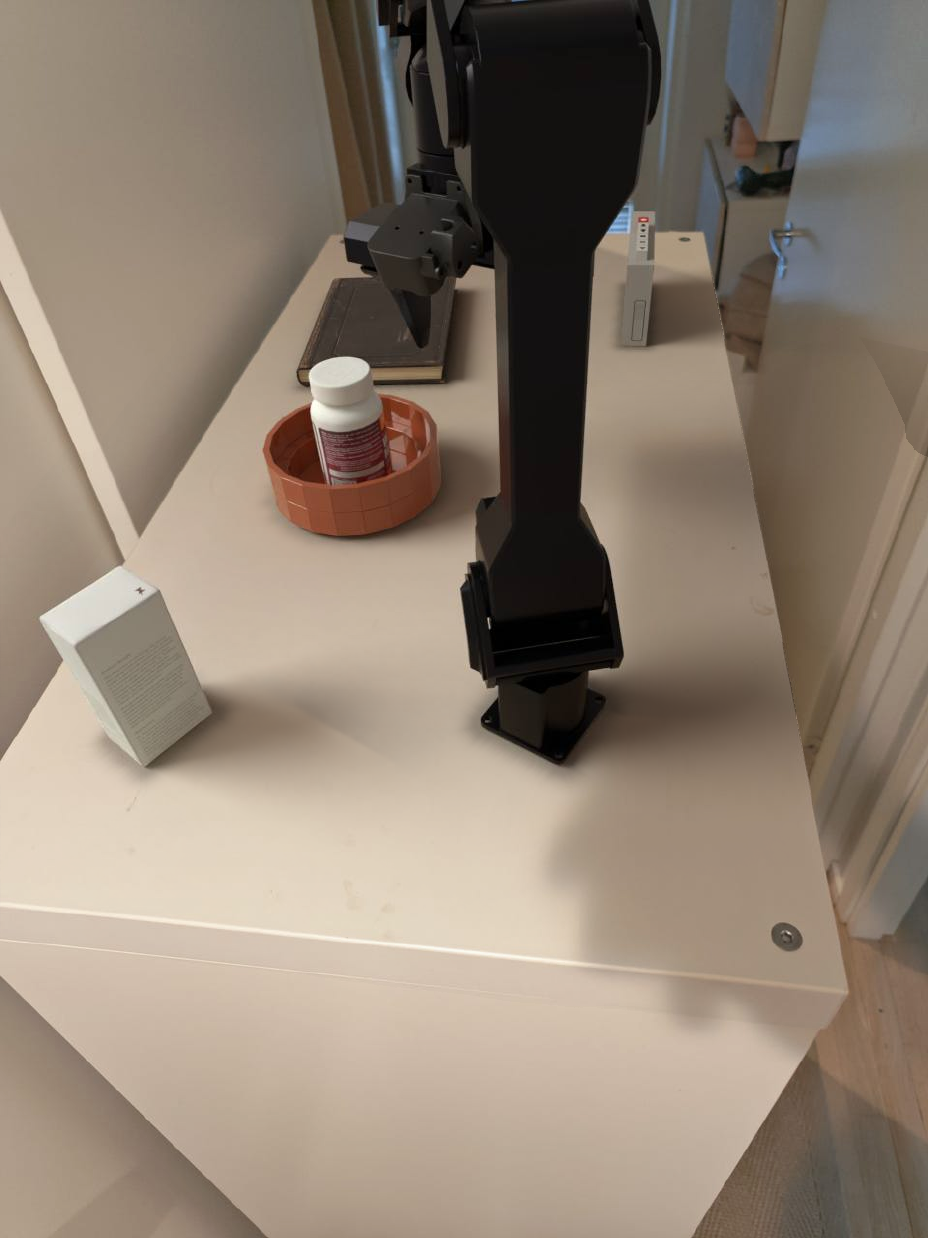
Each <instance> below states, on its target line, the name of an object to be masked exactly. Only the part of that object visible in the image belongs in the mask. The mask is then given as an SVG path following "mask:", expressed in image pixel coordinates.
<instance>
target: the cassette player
mask: <svg viewBox="0 0 928 1238" xmlns="http://www.w3.org/2000/svg"><path fill="white" fill-rule="evenodd" d="M630 217H631V218H630V230H629V241H628V253H627V254H628V256H627V265H626V277H625V291H624V292H625V293H624V303H623V316H622V317H623V318H622V331H621V346H623V347H628V346H629V347H647V341H648V340H647V339H648V329H649V320H650V311H651V301H652V292H653V291H652V290H653V281H654V273H655V251H656V250H655V248H656V246H655V245H656V211H653V210H652V211H651V210H649V211H647V210H645V211H642V210H639V211H638V210H635V211H634V210H633V211H631V216H630Z"/></svg>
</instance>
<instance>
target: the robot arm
mask: <svg viewBox="0 0 928 1238" xmlns="http://www.w3.org/2000/svg"><path fill="white" fill-rule="evenodd" d="M375 10H376V17H377V23H378V27H385V33H386V34H387V37H388V39H392V38H393V39H394V38H401V40H400V42H399V44H398V48H397V53H396V58H395V61H396V62H395V63H396V70H397V74H398V79H399V81H400V83H401V85H402V87H403V89H404V91H405V94H406V96H407V98H408V100H409V102H410V104H411V107H412V109H413V110H412V111H413V120H414V121H413V122H414V133H415V134H414V135H415V145H416V158H417V162H415V163H413V164H412V165H409V166H408V167H406V176H405V178H404V183H405V194H404V201H403V202H402V203H401V204H398V203H392V202H385V201H384V202H382V203H380V204H378V205H375V206H374V207H373V208H371V209H368V210H367V211H365V212H363V213H361V214H359V215H357V216H355V217H354V218H351V219H349V221H348V223H347V225H346V228H345V230H344V233H343V236H342V238H343V244H344V252H345V258H346V261H347V263H352V264H356V265H360V266H359V269H360V271H361V272H362V273H363V274H364V275H367V276H369V277H374V278H375V279H377V280H378V281H380V282H381V283H382V284H383V286H384V287H386V288H388V289H389V291H390V293H391V295H392V296H393V298H394V300H395V302H396V303H397V305H398V307H399V309H400V311H401V314H402V316H403V318H404V320H405V322H406V324H407V326H408V328H409V330H410V333H411V335H412V337H413V339H414V341H415V343H416V345H417V347H418V348H420V349H423V348H424V347H426V346H427V345H428V344H429V337H430V328H431V295H433V294H435V293H436V292H438V291H439V290H440V289H441V287H442V286H443V284H444V280H445V278H446V277H447V276H451V277H456V279H463V278H464V277H465V276H466V274H467V273H468V271H469V270H470V268H472V266H475V267H480V268H485V269H490V270H494V301H495V304H494V305H495V307H494V309H495V339H496V340H495V341H496V343H495V345H496V376H497V377H496V380H497V411H498V412H497V414H498V415H497V416H498V419H497V420H498V444H499V445H498V451H499V453H498V454H499V455H498V456H499V492H498V493H497V495H495V496H487V497H482V498H480V499H479V502H478V504H477V506H476V508H475V523H476V524H475V526H474V535H475V536H474V537H475V541H474V543H475V561H471V562H467V564H466V573H464V580H465V581H464V582H463V584H462V585H461V586H460V587H459V593H460V601H461V607H462V615H463V622H464V627H465V636H466V641H467V642H466V644H467V652H468V654H467V655H468V663H469V667H470V669H471V670H474V671H476V672H477V673H479V675H480V676H481V678H482V682H484V684H485V687H486V689H493V688H496V687H497V697H496V698H495V700H493V702H492V703H491V705H490V706H489V707H488V708H487V709H486V710H485V712H484V713H483V714H482V715H481V717H480V726H481V728H482V729H484V730H486V731H489V732H491V733H492V734H494V735H497V737H500V738H502V739H504V740H506V741H509V742H510V743H512V744H514V745H517V746H518V747H520V748H522V749H524V750H526V751H528V752H530V753H532V754H534V755H536V756H538V757H540V758H542V759H544V760H546V761H548V762H550V763H552V764H554V765H557V766H562V765H564V764H565V763H566V762H567V760H568V759H569V758H570V757H571V755H572V754H573V752H574V751H575V750H576V748H577V746H578V745H579V744H580V742H581V741H582V740H583V738H584V737H585V735H586V734H587V733H588V731H589V730H590V729H591V727H592V726H593V724H594V723H595V721H596V720H597V719H598V718H599V716H600V715H601V713H602V712H603V710H604V709H605V707H606V705H607V697H606V696H605V695H604V694H603V693H600V692H598V691H595V690H593V689H591V688H589V678H590V677H589V676H590V672H591V671H598V670H605V669H610V670H614V669H619V668H620V666H621V665H622V662H623V660H624V657H625V650H624V644H623V637H622V632H621V625H620V619H619V613H618V606H617V599H616V594H615V588H614V580H613V575H612V567H611V563H610V558H609V555H608V553H607V550H606V548H605V546H604V545H603V543H601V541H600V538H599V537H598V534H597V531H596V530H595V527H594V525H593V523H592V520H591V517H590V516H589V514H588V511H587V509H586V507H585V506H584V504H583V503H582V501H581V500H582V484H583V482H582V481H583V463H584V446H585V430H586V411H587V410H586V409H587V393H588V376H589V375H588V373H589V359H590V358H589V357H590V356H589V355H590V337H591V321H592V304H593V303H592V302H593V287H594V286H593V285H594V276H595V260H596V258H595V257H596V250H597V249H598V246H599V245H600V244H601V242H602V241H603V239H604V237H605V236H606V235H607V233H608V232H609V230H610V228H611V227H612V226H613V224H614V222H615V221H616V219H617V218H618V216H619V215H620V213H621V211H622V210H623V208H624V207H625V206H626V204H627V203H628V202H629V200H630V198H631V196H632V195H633V194H634V192H635V190H636V188H637V186H638V184H639V180H640V172H641V165H642V160H643V159H642V158H643V153H644V146H645V145H644V144H645V138H646V131H647V127H648V126H649V125H651V124H652V122H653V120H654V118H655V116H656V114H657V110H658V104H659V100H660V96H661V86H662V77H663V76H662V53H661V52H662V51H661V46H660V40H659V39H660V38H659V34H658V31H657V26H656V23H655V19H654V15H653V10H652V7H651V3H650V0H514V1H513V0H375ZM399 16H400V17H399ZM487 721H489V722H487ZM558 756H560V757H558Z"/></svg>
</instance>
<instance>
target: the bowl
mask: <svg viewBox="0 0 928 1238" xmlns="http://www.w3.org/2000/svg"><path fill="white" fill-rule="evenodd" d="M377 394H378V395H379V397H380V398H381V401H382V406H383V412H384V419H385V426H386V432H387V439H388V446H389V453H390V461H391V468H392V474H390V475H387V476H385V477H382V478H378V479H374V480H370V481H366V482H362V483H358V484H342V485H327V484H325V480H324V475H323V471H322V466H321V461H320V456H319V452H318V447H317V442H316V437H315V433H314V428H313V423H312V419H311V405H312V402H310V403H307V404H305V405H303V406H300V407H298V408H296V409H294V410H293V411H291V412H289V413H288V414H287V415H285V416H283V417H282V418H281V419H279V420H278V421H277V422H276V423H275V424H274V426H273V427H272V428H271V429H270V430H269V431H268V433H267V434H266V436H265V439H264V444H263V447H262V455H263V458H264V463H265V466H266V471H267V474H268V477H269V482H270V485H271V489H272V493H273V496H274V497H273V498H274V500H275V503H276V507H277V509H278V511H279V512H280V514H282V515H283V516H284V517H285V518H286V519H287V520H288V521H289V522H290V523H291V524H293V525H295V526H298V527H300V528H302V529H304V530H307V531H308V532H312V533H317V534H323V535H329V536H336V537H337V536H339V537H343V536H358V535H359V536H360V535H368V534H373V533H377V532H380V531H384V530H389V529H392V528H395V527H397V526H399V525H401V524H403V523H405V522H407V521H409V520H411V519H413V518H415V517H416V516H418V515H419V514H420V513H421V512H423V510H425V509H426V508H427V507H428V506H429V505H430V504H431V503H433V502H434V500H435V498H436V496H437V494H438V492H439V490H440V488H441V486H442V471H441V470H442V469H441V457H440V448H439V447H440V446H439V436H438V426H437V423H436V421H435V420H434V419H433V417H432V415H431V414H430V412H429V411H428V410H426V409H425V408H423V407H422V406H421V405H419V404H417V403H416V402H414V401H412V400H409V399H405V398H403V397H399V396H396V395H393V394H383V393H377Z"/></svg>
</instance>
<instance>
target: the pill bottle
mask: <svg viewBox="0 0 928 1238" xmlns="http://www.w3.org/2000/svg"><path fill="white" fill-rule="evenodd" d="M309 380H310V386H309V387H310V392H311V396H312V398H313V400H312V402H311V403H312V405H311V419H312V423H313V428H314V433H315V437H316V442H317V447H318V452H319V456H320V461H321V466H322V471H323V475H324V480H325V484H327V485H342V484H358V483H362V482H366V481H370V480H374V479H378V478H382V477H385V476H387V475H390V474H392V468H391V461H390V453H389V446H388V439H387V432H386V426H385V419H384V412H383V406H382V401H381V398H380V397H379V395H378V394H379V393H377V391H375V390H374V385H373V380H372V374H371V369H370V366H369V364H368V363H367V362H365V361H364V360H362V359H359V358H355V357H336V358H331V359H328V360H325V361H322V362H320V363H318V364H317V365H315V366H314V367H313V368H312V369H311V371H310V373H309Z"/></svg>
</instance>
